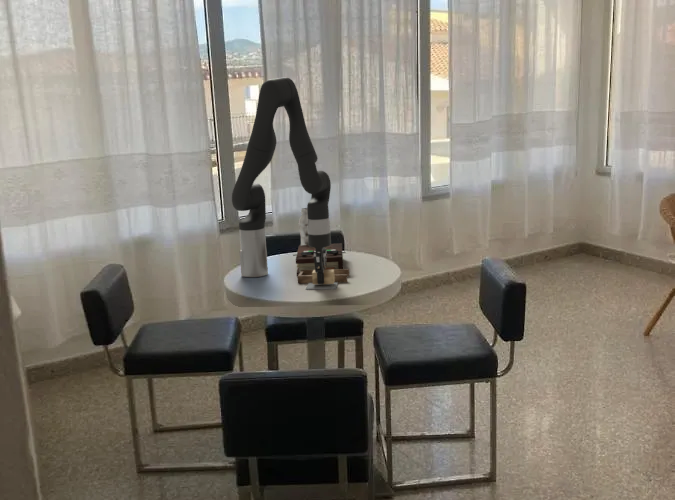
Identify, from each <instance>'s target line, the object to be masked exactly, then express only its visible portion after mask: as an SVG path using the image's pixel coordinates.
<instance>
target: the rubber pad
mask: <svg viewBox="0 0 675 500" xmlns="http://www.w3.org/2000/svg"><path fill="white" fill-rule="evenodd" d="M338 285H339V282H334V284H313V282H312V283H307V285H306V288H305V290H307V291H308V290H309V291H310V290H311V291H312V290H315V291H316V290H336V289H337V287H338Z"/></svg>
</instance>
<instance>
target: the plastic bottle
mask: <svg viewBox="0 0 675 500" xmlns="http://www.w3.org/2000/svg"><path fill="white" fill-rule="evenodd" d="M300 213H301V216H300V217H299V219H298V229H299V234H300V245H308V227H307V225H308V214H307V207H305V208H301V209H300Z"/></svg>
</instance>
